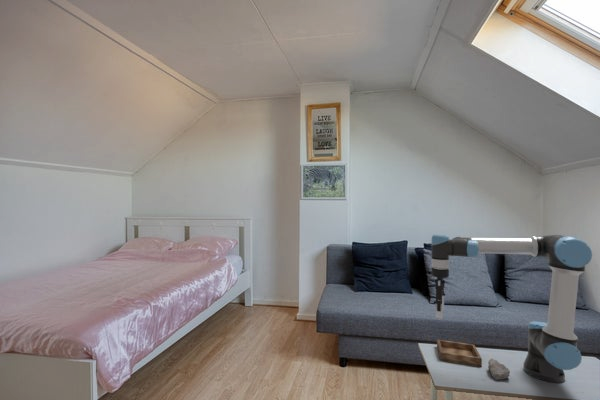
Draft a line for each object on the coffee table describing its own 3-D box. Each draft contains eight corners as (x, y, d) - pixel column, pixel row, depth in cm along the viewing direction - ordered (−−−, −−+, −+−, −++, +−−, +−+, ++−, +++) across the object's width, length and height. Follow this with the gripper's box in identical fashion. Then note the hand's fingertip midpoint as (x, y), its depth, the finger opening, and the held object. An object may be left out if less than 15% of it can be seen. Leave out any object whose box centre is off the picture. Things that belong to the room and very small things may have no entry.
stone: (480, 370, 148) (480, 357, 148) (496, 369, 148) (497, 357, 148) (495, 381, 138) (495, 368, 138) (512, 381, 139) (512, 368, 139)
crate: (474, 352, 165) (474, 344, 166) (481, 367, 150) (481, 358, 150) (436, 346, 171) (437, 339, 171) (440, 360, 156) (440, 352, 156)
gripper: (433, 263, 160) (433, 304, 160) (428, 271, 138) (428, 320, 138) (449, 264, 157) (449, 307, 157) (447, 273, 135) (447, 323, 134)
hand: (440, 313), depth 147 cm, fingers open, 13 cm apart
